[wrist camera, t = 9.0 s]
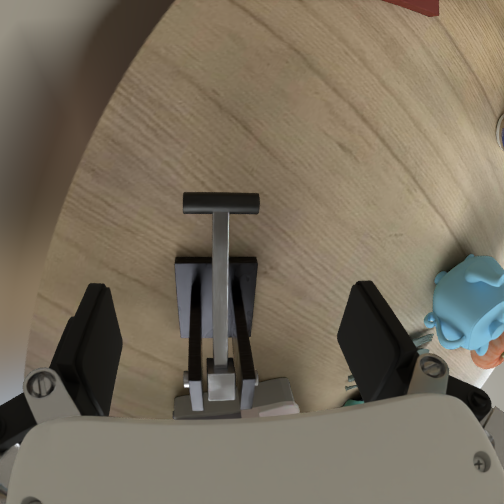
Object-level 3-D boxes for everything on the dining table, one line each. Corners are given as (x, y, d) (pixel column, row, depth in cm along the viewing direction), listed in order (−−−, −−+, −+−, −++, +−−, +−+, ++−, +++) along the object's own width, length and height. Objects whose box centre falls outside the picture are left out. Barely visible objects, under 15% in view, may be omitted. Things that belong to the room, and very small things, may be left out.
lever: (184, 191, 22) (182, 193, 20) (255, 191, 23) (261, 194, 20) (191, 384, 26) (191, 401, 23) (248, 382, 26) (252, 399, 24)
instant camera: (297, 436, 54) (314, 503, 41) (190, 447, 52) (193, 516, 39) (309, 372, 43) (337, 463, 30) (163, 387, 41) (160, 483, 28)
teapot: (448, 321, 43) (486, 369, 34) (396, 307, 38) (440, 369, 29) (493, 257, 38) (540, 300, 29) (450, 226, 33) (511, 277, 24)
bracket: (175, 257, 31) (162, 355, 20) (256, 256, 32) (281, 353, 21) (181, 330, 36) (177, 426, 25) (249, 329, 37) (266, 423, 26)
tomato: (505, 296, 43) (530, 323, 36) (501, 328, 48) (522, 354, 41) (462, 329, 45) (485, 361, 38) (462, 358, 50) (481, 386, 43)
